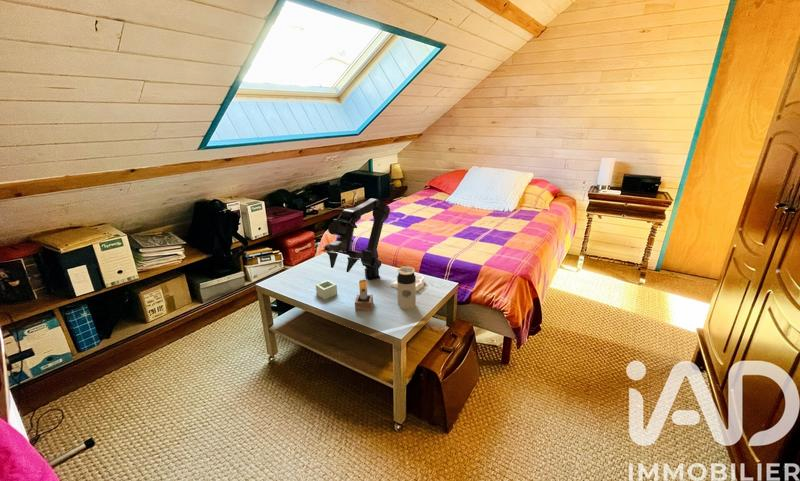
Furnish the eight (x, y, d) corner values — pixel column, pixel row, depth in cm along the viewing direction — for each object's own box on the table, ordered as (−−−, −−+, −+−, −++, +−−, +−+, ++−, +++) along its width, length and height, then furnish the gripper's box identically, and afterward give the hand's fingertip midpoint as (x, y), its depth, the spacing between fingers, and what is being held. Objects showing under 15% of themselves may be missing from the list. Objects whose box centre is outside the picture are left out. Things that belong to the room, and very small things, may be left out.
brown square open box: (357, 304, 165) (357, 294, 163) (373, 304, 165) (372, 294, 163) (355, 312, 159) (354, 302, 157) (371, 312, 158) (370, 302, 156)
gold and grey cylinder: (366, 304, 163) (365, 279, 159) (368, 307, 160) (367, 282, 156) (359, 305, 162) (358, 280, 158) (361, 309, 159) (360, 283, 155)
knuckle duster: (406, 276, 190) (430, 284, 182) (386, 291, 177) (411, 299, 169) (406, 271, 189) (431, 278, 181) (385, 285, 175) (411, 293, 167)
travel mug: (400, 300, 167) (400, 265, 161) (417, 302, 165) (417, 267, 159) (395, 309, 160) (394, 273, 154) (413, 312, 158) (412, 275, 152)
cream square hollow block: (329, 290, 177) (328, 279, 175) (337, 295, 173) (336, 284, 170) (316, 295, 173) (315, 284, 171) (324, 301, 168) (323, 289, 166)
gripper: (319, 231, 163) (312, 265, 164) (351, 238, 154) (344, 274, 154) (335, 233, 173) (328, 265, 173) (366, 240, 164) (359, 274, 164)
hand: (339, 270), depth 166 cm, fingers open, 9 cm apart
